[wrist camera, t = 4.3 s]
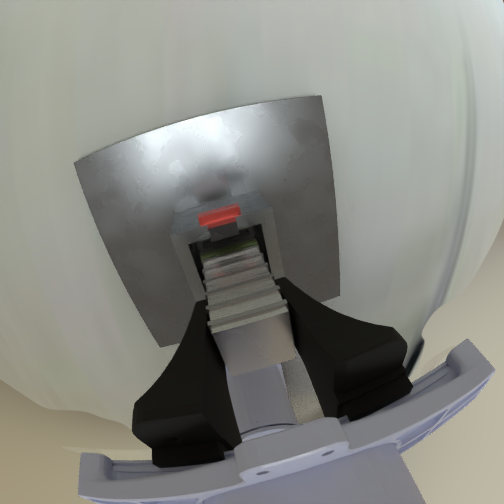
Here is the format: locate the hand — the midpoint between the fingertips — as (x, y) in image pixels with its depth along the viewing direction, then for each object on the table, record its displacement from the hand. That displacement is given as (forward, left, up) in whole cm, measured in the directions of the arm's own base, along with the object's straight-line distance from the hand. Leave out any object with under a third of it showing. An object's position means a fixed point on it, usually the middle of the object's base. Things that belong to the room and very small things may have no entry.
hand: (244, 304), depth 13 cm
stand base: (0, 0, -9) cm, 9 cm away
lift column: (0, 0, -5) cm, 5 cm away
